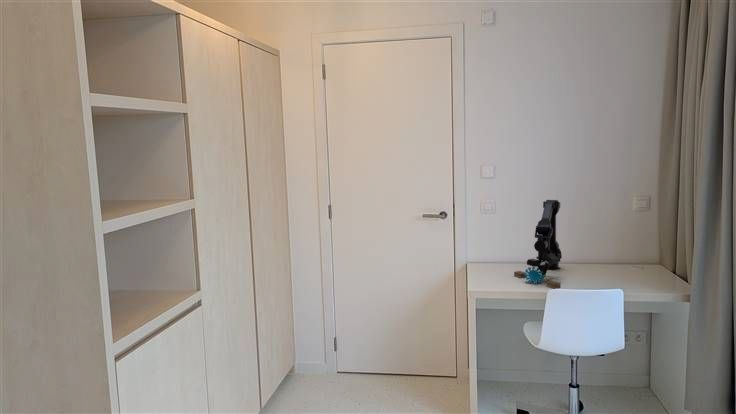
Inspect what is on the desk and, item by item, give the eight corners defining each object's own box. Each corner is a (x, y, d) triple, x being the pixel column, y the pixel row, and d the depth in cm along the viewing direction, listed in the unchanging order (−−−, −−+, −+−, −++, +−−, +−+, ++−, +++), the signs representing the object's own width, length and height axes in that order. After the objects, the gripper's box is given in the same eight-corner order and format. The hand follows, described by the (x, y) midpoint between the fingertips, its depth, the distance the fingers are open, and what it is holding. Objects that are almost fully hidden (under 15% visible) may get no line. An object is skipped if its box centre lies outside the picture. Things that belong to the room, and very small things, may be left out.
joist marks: (519, 275, 299) (519, 270, 299) (560, 287, 274) (560, 282, 273) (514, 276, 298) (514, 271, 297) (554, 289, 272) (554, 284, 272)
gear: (525, 281, 281) (524, 264, 287) (522, 287, 286) (521, 270, 291) (547, 284, 280) (545, 267, 286) (544, 289, 285) (542, 273, 291)
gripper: (541, 252, 274) (541, 282, 277) (568, 247, 283) (568, 277, 285) (526, 248, 284) (526, 278, 286) (552, 244, 293) (552, 272, 295)
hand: (543, 276), depth 288 cm, fingers closed
